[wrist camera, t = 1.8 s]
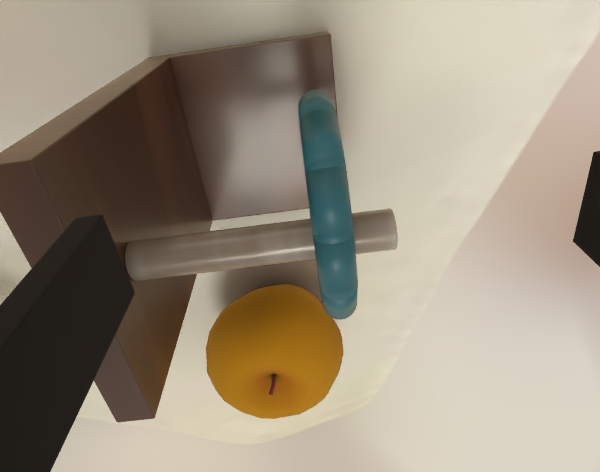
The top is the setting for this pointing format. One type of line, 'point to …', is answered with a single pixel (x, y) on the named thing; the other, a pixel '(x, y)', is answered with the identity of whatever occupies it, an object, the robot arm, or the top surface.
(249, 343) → the apple
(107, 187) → the hook board
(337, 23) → the top surface
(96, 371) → the robot arm
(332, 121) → the ring
